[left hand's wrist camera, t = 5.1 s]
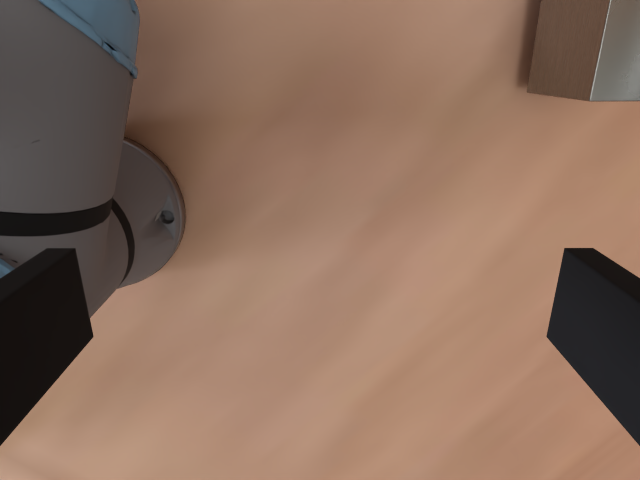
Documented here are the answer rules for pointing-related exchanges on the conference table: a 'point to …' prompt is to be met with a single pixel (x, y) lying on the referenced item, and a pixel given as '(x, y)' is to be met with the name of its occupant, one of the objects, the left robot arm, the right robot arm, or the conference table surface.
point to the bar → (587, 50)
